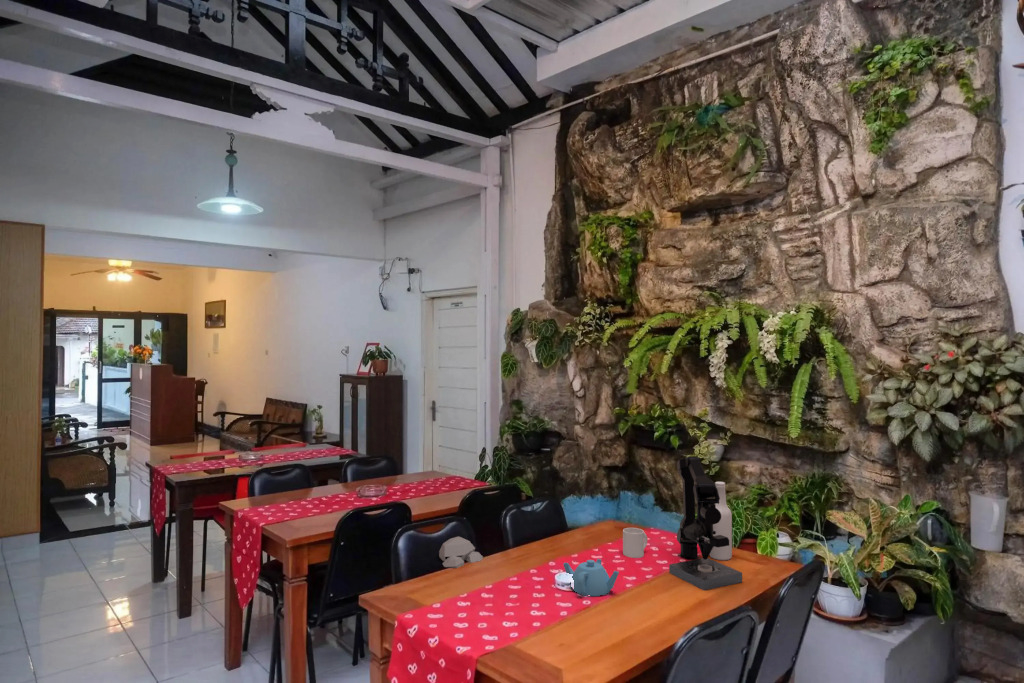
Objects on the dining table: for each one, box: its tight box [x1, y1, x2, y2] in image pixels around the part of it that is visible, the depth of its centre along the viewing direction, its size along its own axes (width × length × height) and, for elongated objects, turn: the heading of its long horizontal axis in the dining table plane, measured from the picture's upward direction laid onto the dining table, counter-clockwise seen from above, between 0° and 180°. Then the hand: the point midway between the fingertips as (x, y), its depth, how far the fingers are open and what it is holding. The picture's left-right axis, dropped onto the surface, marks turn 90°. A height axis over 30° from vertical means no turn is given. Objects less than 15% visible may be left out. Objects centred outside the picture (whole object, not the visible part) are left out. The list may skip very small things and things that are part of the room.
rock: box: [438, 536, 484, 569], centre depth 241 cm, size 18×20×10 cm
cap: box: [698, 565, 712, 572], centre depth 228 cm, size 5×5×4 cm
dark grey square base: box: [668, 557, 743, 591], centre depth 228 cm, size 18×18×4 cm
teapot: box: [562, 558, 620, 597], centre depth 214 cm, size 15×15×11 cm
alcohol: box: [709, 481, 733, 561], centre depth 251 cm, size 9×9×30 cm
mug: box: [622, 527, 648, 559], centre depth 253 cm, size 12×8×10 cm
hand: (705, 559), depth 228 cm, fingers closed
